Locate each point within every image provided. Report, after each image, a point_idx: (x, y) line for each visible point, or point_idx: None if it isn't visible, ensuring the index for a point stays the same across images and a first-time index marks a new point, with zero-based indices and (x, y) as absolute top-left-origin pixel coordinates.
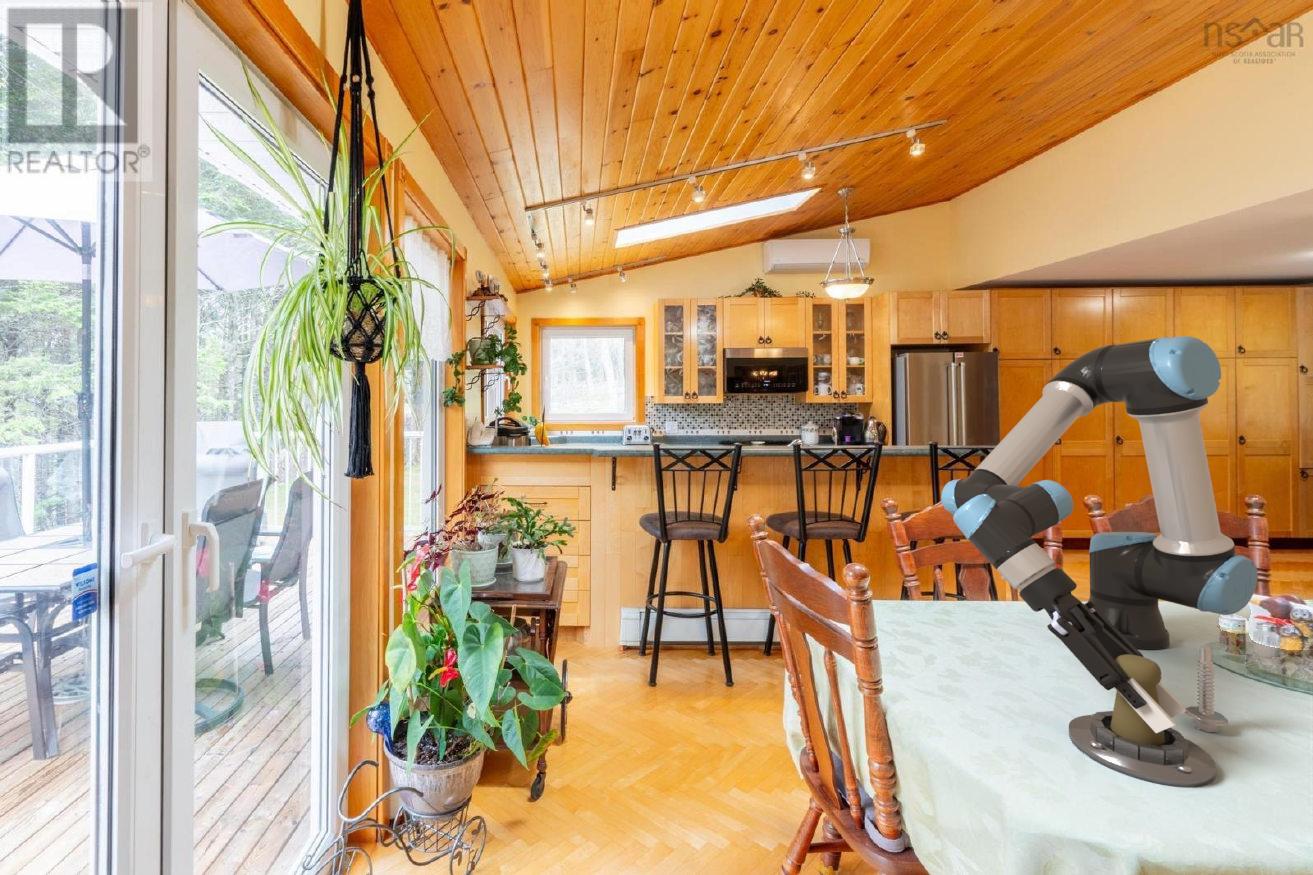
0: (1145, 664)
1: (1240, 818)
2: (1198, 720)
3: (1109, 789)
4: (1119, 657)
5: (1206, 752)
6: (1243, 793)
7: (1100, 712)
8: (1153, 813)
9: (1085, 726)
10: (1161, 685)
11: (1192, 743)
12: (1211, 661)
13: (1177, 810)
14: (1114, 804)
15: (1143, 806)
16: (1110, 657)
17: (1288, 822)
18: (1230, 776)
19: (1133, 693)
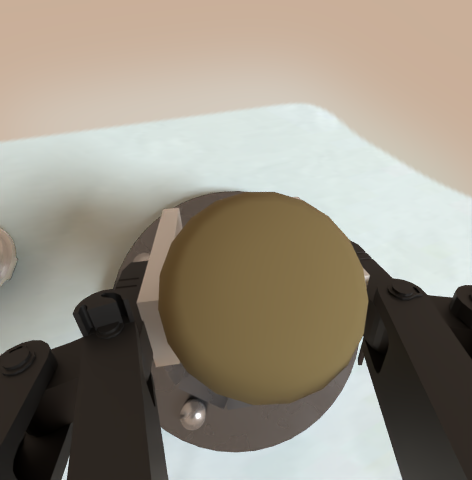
0: (314, 225)
1: (312, 151)
2: (12, 263)
3: (418, 279)
4: (321, 373)
5: (159, 218)
6: (232, 165)
7: (218, 402)
8: (416, 217)
9: (258, 411)
10: (162, 248)
11: (138, 243)
12: None
13: (374, 202)
14: (451, 257)
15: (412, 232)
16: (448, 389)
17: (264, 118)
18: (189, 188)
19: (375, 262)
